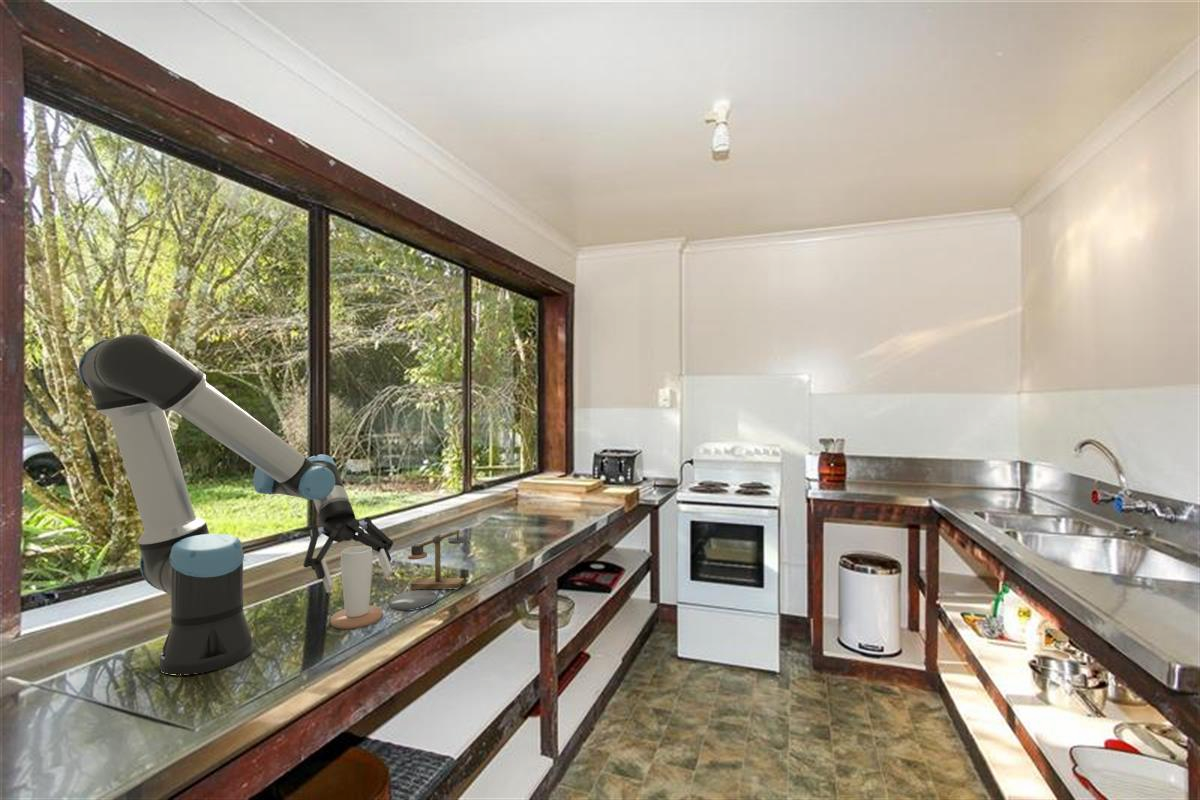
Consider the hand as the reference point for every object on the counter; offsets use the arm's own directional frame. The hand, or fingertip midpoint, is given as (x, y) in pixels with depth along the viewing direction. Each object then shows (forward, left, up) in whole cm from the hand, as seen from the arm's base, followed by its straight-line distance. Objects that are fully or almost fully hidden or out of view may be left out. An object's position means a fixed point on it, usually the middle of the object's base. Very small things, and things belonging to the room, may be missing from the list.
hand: (361, 581), depth 126 cm
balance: (+9, +25, -9) cm, 28 cm away
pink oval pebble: (-2, +2, -9) cm, 9 cm away
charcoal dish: (+7, +13, -9) cm, 17 cm away
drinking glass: (-2, +2, -8) cm, 8 cm away
